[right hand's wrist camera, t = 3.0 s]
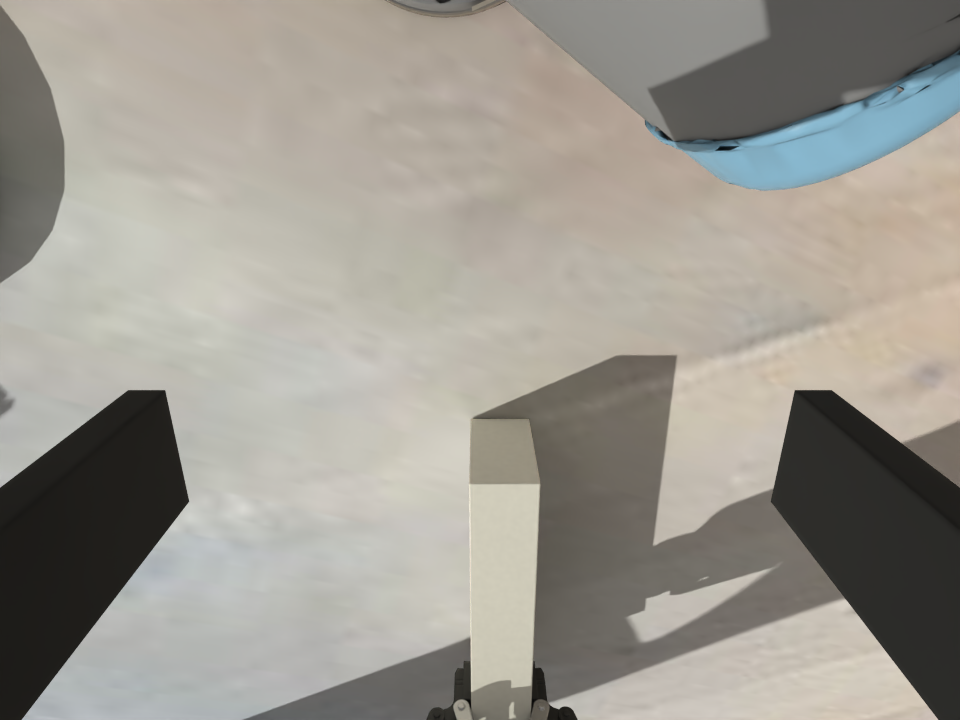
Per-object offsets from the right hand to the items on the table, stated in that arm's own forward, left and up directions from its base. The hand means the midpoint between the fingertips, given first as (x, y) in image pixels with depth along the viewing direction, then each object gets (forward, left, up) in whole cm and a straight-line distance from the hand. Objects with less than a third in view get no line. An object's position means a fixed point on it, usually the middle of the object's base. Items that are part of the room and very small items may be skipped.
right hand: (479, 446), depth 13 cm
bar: (+18, +20, -29) cm, 39 cm away
